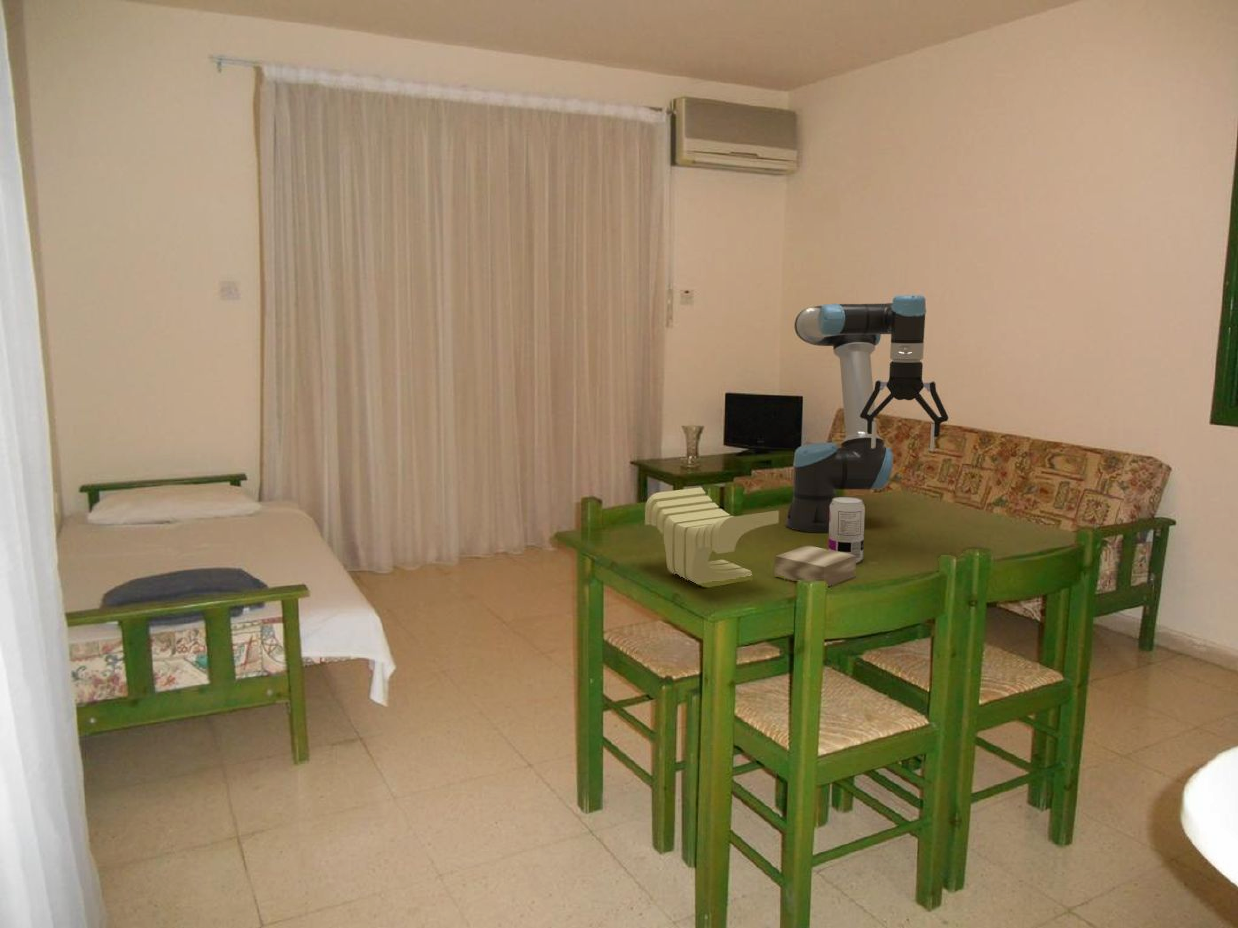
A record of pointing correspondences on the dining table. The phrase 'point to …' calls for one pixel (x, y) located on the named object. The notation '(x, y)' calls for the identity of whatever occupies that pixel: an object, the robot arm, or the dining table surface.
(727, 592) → the dining table surface
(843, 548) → the supplement can
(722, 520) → the slatted curved stool
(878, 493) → the dining table surface
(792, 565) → the birch plinth
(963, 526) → the dining table surface
